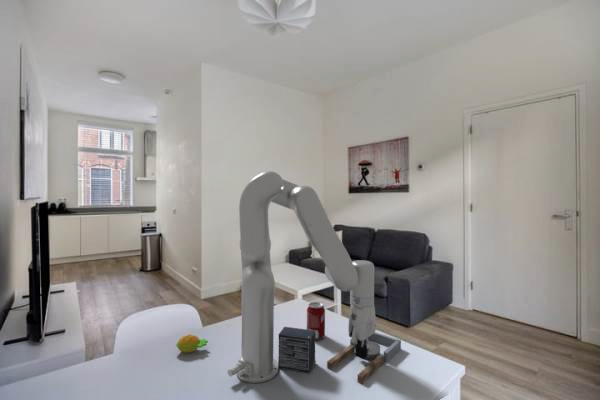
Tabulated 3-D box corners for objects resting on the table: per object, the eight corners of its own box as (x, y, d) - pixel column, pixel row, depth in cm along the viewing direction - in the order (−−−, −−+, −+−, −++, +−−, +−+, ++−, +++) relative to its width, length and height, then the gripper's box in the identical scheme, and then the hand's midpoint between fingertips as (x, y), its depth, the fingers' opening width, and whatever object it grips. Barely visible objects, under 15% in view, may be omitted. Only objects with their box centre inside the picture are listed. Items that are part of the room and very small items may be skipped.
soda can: (318, 342, 107) (318, 309, 107) (303, 337, 111) (303, 305, 111) (328, 335, 113) (328, 304, 113) (313, 330, 117) (313, 300, 117)
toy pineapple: (179, 346, 104) (180, 331, 104) (209, 345, 105) (209, 330, 105) (173, 357, 97) (173, 340, 97) (204, 356, 98) (205, 339, 98)
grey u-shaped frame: (387, 362, 95) (387, 353, 95) (350, 348, 104) (350, 339, 104) (400, 348, 104) (400, 340, 104) (365, 336, 112) (365, 328, 112)
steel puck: (375, 362, 95) (375, 353, 95) (354, 355, 99) (355, 346, 99) (383, 353, 100) (383, 344, 100) (363, 347, 105) (363, 338, 105)
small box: (315, 362, 95) (316, 329, 95) (311, 374, 89) (311, 339, 88) (284, 357, 98) (284, 325, 98) (277, 368, 91) (277, 334, 91)
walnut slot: (362, 384, 84) (362, 377, 84) (327, 367, 92) (327, 361, 92) (383, 363, 95) (383, 356, 95) (350, 350, 102) (350, 344, 102)
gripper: (360, 309, 87) (359, 371, 88) (383, 296, 99) (382, 351, 99) (339, 303, 92) (338, 362, 93) (362, 291, 104) (362, 344, 104)
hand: (361, 356), depth 96 cm, fingers closed
